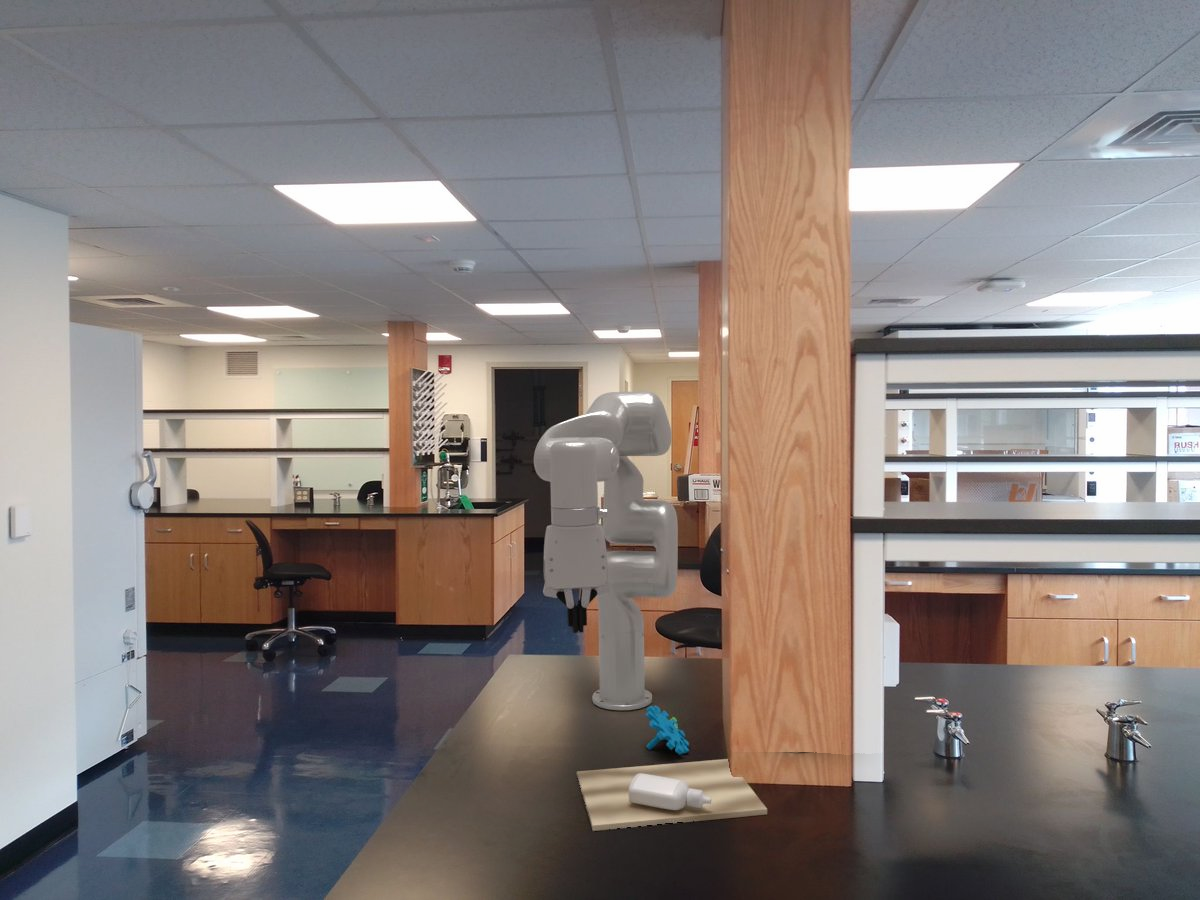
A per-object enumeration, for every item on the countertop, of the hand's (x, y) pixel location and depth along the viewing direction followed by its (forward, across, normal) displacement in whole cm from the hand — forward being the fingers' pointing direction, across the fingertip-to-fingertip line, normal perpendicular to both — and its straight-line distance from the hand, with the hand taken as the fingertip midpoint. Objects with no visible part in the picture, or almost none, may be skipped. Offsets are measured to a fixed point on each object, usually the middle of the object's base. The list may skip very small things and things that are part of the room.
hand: (577, 630), depth 126 cm
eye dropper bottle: (+22, -7, +9) cm, 25 cm away
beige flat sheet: (+25, -12, +8) cm, 29 cm away
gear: (+26, -17, -9) cm, 32 cm away
